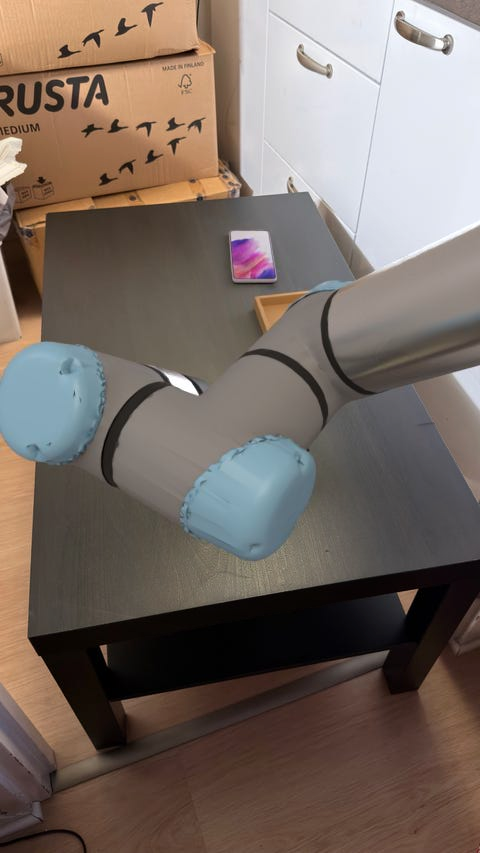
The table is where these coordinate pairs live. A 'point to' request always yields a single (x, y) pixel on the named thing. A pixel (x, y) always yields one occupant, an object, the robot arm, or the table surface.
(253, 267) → the smartphone
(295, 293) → the square wooden tray
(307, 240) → the table surface
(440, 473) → the table surface
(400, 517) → the table surface
